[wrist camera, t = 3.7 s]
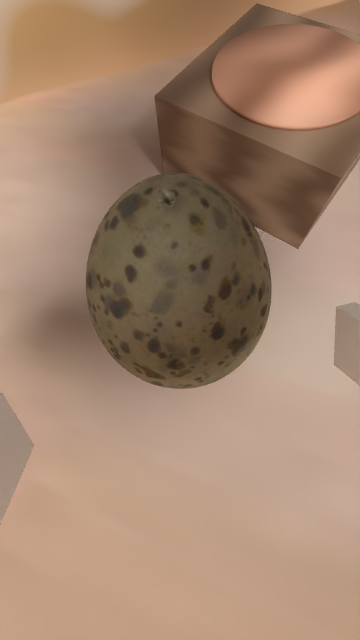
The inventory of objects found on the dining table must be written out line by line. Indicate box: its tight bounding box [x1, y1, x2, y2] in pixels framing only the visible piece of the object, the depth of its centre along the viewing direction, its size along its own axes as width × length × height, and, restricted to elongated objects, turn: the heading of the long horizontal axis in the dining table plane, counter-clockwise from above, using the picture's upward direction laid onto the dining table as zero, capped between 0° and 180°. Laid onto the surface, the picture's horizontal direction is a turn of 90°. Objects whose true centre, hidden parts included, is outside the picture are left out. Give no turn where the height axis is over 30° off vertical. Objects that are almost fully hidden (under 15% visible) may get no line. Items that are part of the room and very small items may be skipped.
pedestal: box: [155, 4, 360, 248], centre depth 26 cm, size 16×16×8 cm
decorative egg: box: [86, 173, 271, 389], centre depth 16 cm, size 11×11×15 cm
